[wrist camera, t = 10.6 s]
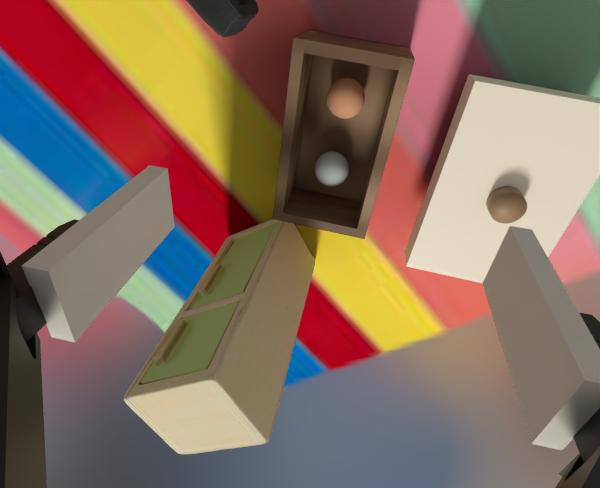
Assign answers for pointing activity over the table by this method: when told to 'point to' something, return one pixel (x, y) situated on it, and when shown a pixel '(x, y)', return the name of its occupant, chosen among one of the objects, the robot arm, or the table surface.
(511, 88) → the lid
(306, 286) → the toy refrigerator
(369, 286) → the table surface
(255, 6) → the mug
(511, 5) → the table surface
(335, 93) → the ball terracotta
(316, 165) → the ball bluegrey
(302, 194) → the box
